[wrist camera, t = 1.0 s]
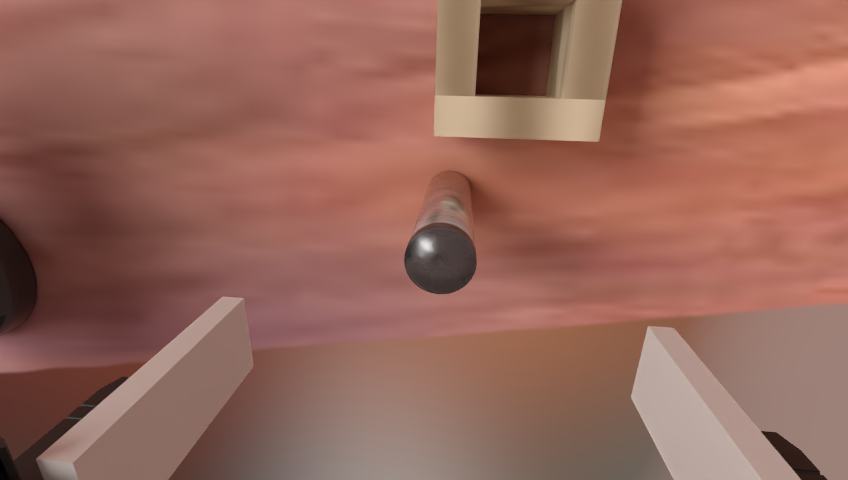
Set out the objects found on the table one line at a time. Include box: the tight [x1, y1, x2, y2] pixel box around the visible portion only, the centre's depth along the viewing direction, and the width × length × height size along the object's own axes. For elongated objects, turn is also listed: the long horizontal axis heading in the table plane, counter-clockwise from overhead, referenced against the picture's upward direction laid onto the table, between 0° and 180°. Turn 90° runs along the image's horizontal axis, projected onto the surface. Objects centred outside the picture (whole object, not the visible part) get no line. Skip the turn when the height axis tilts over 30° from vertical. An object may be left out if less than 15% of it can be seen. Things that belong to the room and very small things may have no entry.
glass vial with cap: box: [404, 171, 476, 294], centre depth 27 cm, size 4×4×14 cm
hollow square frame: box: [434, 0, 622, 142], centre depth 27 cm, size 10×10×6 cm
